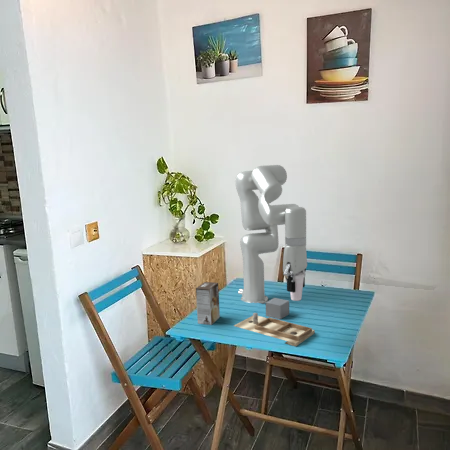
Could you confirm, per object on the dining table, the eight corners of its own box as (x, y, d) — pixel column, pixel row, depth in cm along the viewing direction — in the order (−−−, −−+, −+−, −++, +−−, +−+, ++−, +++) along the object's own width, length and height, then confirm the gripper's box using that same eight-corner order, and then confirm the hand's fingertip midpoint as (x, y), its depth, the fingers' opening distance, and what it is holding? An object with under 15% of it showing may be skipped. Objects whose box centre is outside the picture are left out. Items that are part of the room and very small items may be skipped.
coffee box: (206, 318, 185) (204, 281, 183) (220, 319, 183) (218, 282, 180) (197, 326, 177) (195, 288, 174) (212, 328, 175) (210, 289, 172)
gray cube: (265, 318, 182) (265, 302, 181) (274, 313, 188) (274, 297, 186) (280, 322, 178) (280, 305, 177) (289, 316, 183) (289, 300, 182)
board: (233, 328, 173) (233, 316, 172) (254, 317, 184) (253, 305, 183) (295, 346, 156) (295, 332, 155) (314, 333, 166) (314, 320, 165)
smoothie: (293, 303, 158) (293, 265, 155) (284, 297, 164) (283, 261, 161) (308, 300, 161) (308, 262, 158) (298, 294, 166) (298, 259, 164)
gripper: (298, 236, 167) (298, 281, 170) (274, 244, 154) (274, 293, 157) (316, 238, 163) (316, 284, 166) (292, 247, 149) (293, 297, 153)
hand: (295, 288), depth 161 cm, fingers closed on smoothie, 6 cm apart
